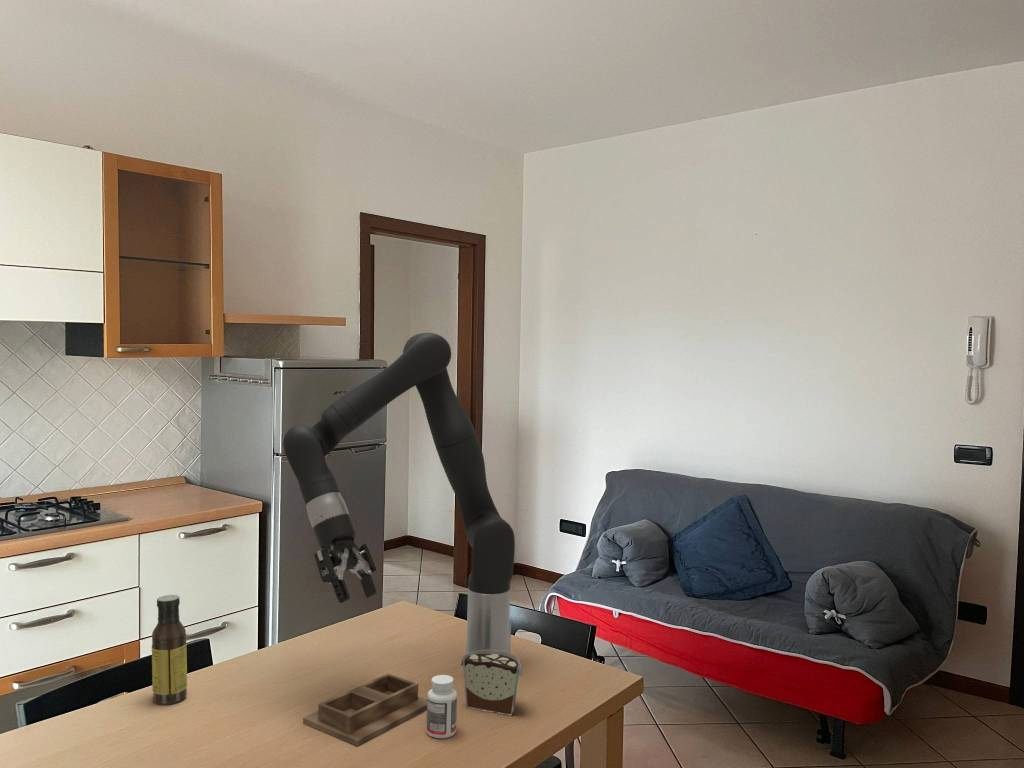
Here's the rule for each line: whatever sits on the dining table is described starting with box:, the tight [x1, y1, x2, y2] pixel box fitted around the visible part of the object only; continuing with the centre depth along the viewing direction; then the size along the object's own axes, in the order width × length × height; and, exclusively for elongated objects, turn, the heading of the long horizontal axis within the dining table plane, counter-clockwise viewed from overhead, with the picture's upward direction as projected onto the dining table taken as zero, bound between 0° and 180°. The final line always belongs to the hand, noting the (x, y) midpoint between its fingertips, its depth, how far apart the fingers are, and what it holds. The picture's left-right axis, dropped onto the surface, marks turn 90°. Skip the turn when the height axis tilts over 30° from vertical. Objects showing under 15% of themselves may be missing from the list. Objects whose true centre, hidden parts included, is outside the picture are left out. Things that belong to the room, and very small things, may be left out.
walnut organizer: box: [302, 673, 427, 747], centre depth 151 cm, size 20×14×4 cm
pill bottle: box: [426, 674, 458, 739], centre depth 145 cm, size 5×5×10 cm
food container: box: [459, 650, 523, 716], centre depth 157 cm, size 12×6×10 cm, turn 71°
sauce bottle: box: [151, 594, 188, 706], centre depth 155 cm, size 6×6×20 cm
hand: (358, 598), depth 153 cm, fingers open, 8 cm apart
